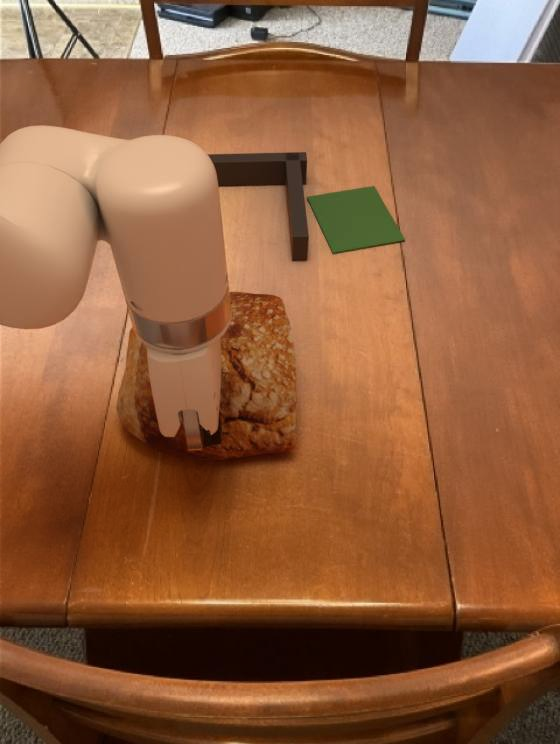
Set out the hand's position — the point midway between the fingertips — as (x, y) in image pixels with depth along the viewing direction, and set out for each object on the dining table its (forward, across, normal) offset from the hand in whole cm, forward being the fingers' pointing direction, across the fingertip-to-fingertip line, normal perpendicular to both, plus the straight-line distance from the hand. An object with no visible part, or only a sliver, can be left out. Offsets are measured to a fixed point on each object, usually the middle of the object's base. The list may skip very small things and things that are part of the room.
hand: (205, 437), depth 65 cm
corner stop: (+5, -39, -1) cm, 39 cm away
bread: (+5, -10, 0) cm, 11 cm away
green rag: (+5, -38, +18) cm, 43 cm away
